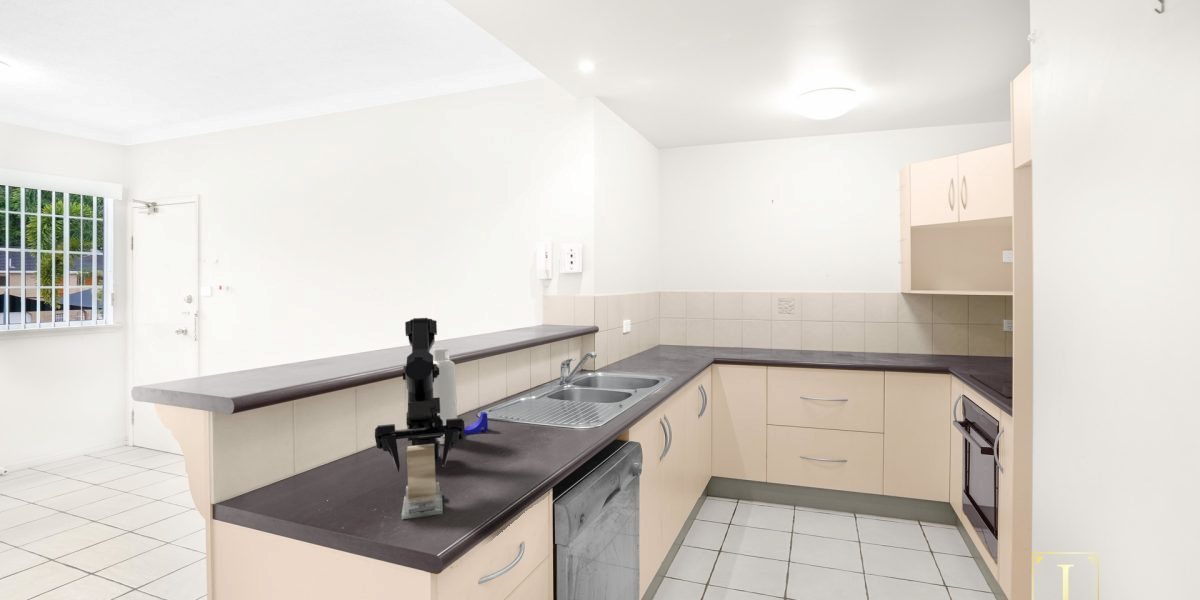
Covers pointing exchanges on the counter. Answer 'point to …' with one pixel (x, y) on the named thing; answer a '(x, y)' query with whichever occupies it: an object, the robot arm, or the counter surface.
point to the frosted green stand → (422, 505)
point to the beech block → (421, 471)
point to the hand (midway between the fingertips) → (421, 468)
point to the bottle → (445, 386)
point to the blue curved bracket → (478, 425)
